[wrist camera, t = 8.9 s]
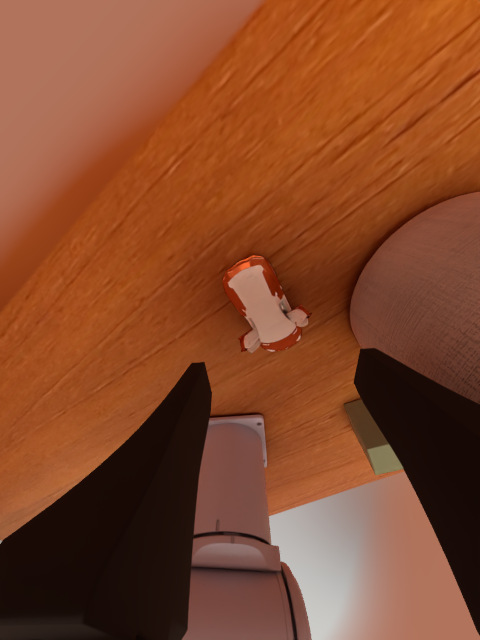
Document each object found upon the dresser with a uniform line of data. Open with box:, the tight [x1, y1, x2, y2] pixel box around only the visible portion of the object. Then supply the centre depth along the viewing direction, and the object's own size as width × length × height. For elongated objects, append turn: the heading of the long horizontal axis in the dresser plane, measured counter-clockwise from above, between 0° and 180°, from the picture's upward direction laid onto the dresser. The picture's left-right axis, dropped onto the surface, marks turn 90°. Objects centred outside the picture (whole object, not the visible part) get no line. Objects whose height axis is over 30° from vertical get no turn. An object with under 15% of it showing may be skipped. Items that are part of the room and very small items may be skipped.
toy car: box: [222, 255, 312, 353], centre depth 15 cm, size 5×8×3 cm, turn 28°
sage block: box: [344, 399, 403, 475], centre depth 20 cm, size 4×4×4 cm
